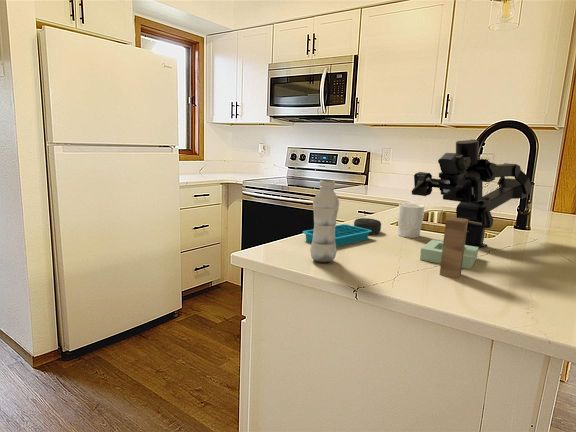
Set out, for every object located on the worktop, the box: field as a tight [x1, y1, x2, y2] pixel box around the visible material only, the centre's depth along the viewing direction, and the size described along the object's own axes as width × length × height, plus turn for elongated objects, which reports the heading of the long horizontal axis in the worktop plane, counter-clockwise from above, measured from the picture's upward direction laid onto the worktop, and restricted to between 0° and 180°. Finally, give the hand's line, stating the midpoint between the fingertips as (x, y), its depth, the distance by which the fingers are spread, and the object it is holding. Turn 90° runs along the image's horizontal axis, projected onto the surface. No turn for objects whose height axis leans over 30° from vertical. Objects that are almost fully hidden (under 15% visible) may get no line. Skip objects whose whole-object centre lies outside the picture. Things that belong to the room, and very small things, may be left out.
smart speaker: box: [353, 217, 382, 235], centre depth 131 cm, size 9×9×4 cm
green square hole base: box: [419, 239, 480, 270], centre depth 103 cm, size 12×12×3 cm
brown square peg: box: [439, 216, 468, 279], centre depth 90 cm, size 4×4×13 cm
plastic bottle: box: [309, 179, 340, 263], centre depth 95 cm, size 6×7×20 cm
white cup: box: [397, 203, 425, 239], centre depth 128 cm, size 8×8×10 cm
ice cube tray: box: [302, 223, 372, 247], centre depth 119 cm, size 12×20×3 cm, turn 132°
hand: (427, 195), depth 101 cm, fingers open, 9 cm apart
